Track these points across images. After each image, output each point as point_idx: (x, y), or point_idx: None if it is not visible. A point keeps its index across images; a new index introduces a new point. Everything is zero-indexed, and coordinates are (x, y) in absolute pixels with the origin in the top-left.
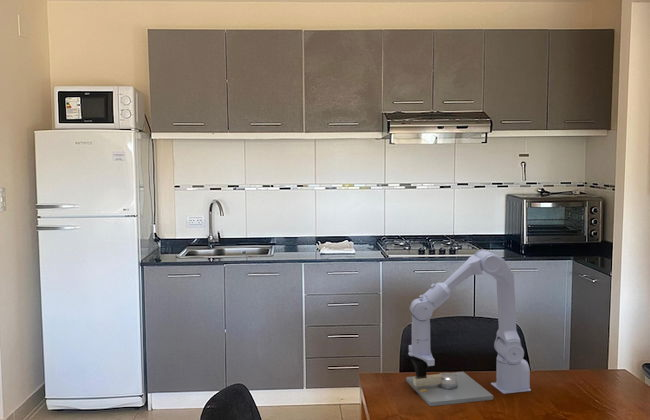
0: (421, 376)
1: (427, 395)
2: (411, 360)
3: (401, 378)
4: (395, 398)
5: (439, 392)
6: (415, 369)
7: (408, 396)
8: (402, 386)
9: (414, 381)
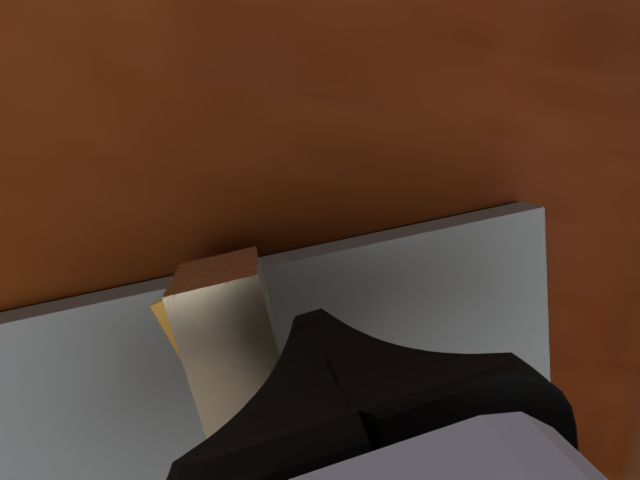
0: (262, 383)
1: (63, 349)
2: (461, 368)
3: (587, 168)
4: (111, 12)
5: (149, 461)
6: (349, 350)
7: (168, 164)
8: (412, 146)
9: (217, 269)
